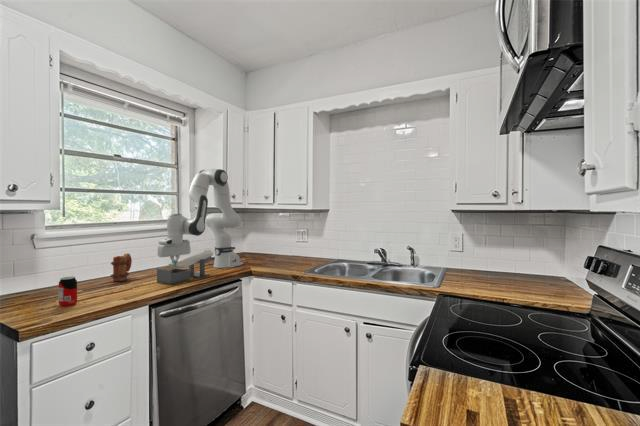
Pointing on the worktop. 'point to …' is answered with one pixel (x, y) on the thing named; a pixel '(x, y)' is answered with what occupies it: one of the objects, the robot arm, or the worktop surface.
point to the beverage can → (67, 291)
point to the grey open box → (172, 276)
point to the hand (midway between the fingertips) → (174, 263)
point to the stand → (202, 270)
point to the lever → (194, 259)
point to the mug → (121, 267)
